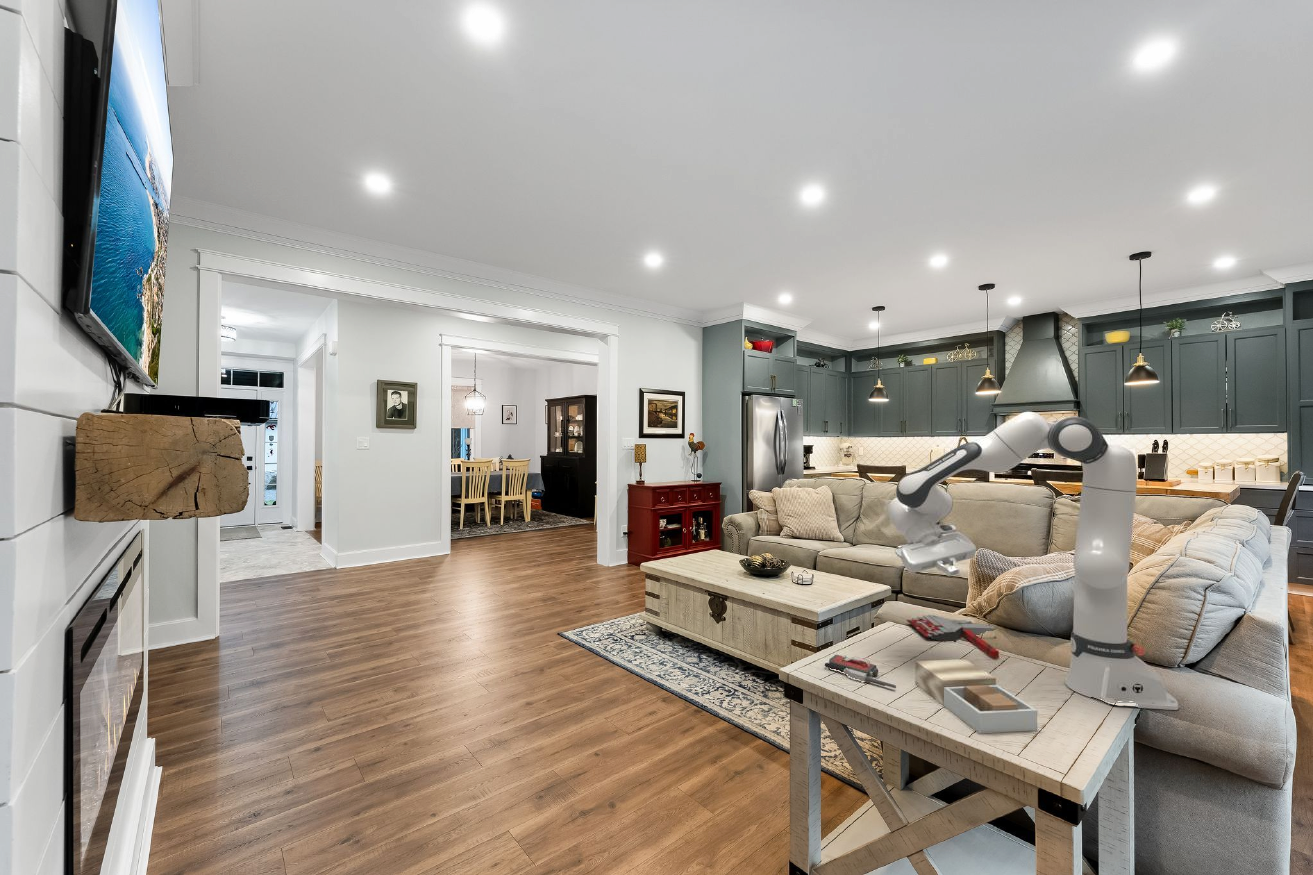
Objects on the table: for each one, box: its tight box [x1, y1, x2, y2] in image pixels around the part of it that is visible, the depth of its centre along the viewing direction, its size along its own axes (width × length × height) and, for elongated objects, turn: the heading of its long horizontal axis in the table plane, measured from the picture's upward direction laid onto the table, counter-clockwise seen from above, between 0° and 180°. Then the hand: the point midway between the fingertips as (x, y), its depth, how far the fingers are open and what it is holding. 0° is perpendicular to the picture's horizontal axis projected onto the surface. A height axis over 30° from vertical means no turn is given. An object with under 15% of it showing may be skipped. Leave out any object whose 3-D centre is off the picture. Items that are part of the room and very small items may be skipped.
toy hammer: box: [906, 614, 1000, 659], centre depth 184 cm, size 24×4×30 cm
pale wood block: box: [914, 658, 997, 706], centre depth 147 cm, size 12×14×6 cm
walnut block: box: [964, 685, 1018, 711], centre depth 133 cm, size 5×6×10 cm
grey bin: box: [943, 684, 1038, 734], centre depth 134 cm, size 13×14×4 cm
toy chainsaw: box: [824, 654, 897, 689], centre depth 157 cm, size 9×4×20 cm
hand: (954, 573), depth 156 cm, fingers closed
